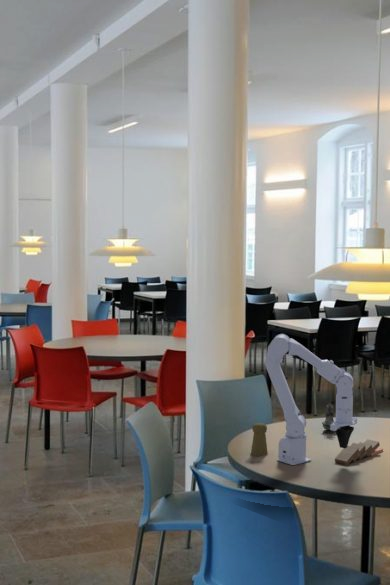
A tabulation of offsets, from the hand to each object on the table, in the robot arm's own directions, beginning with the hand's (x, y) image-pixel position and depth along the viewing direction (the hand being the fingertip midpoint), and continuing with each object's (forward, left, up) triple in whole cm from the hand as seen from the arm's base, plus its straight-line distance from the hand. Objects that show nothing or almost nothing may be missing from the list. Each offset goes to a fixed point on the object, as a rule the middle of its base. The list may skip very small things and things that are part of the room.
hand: (343, 447), depth 283 cm
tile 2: (+3, +1, -5) cm, 6 cm away
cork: (-14, +27, -6) cm, 31 cm away
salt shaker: (+30, +33, -6) cm, 45 cm away
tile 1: (-1, 0, -5) cm, 5 cm away
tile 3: (+7, +1, -5) cm, 9 cm away
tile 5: (+15, +3, -6) cm, 16 cm away
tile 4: (+12, +2, -5) cm, 14 cm away
